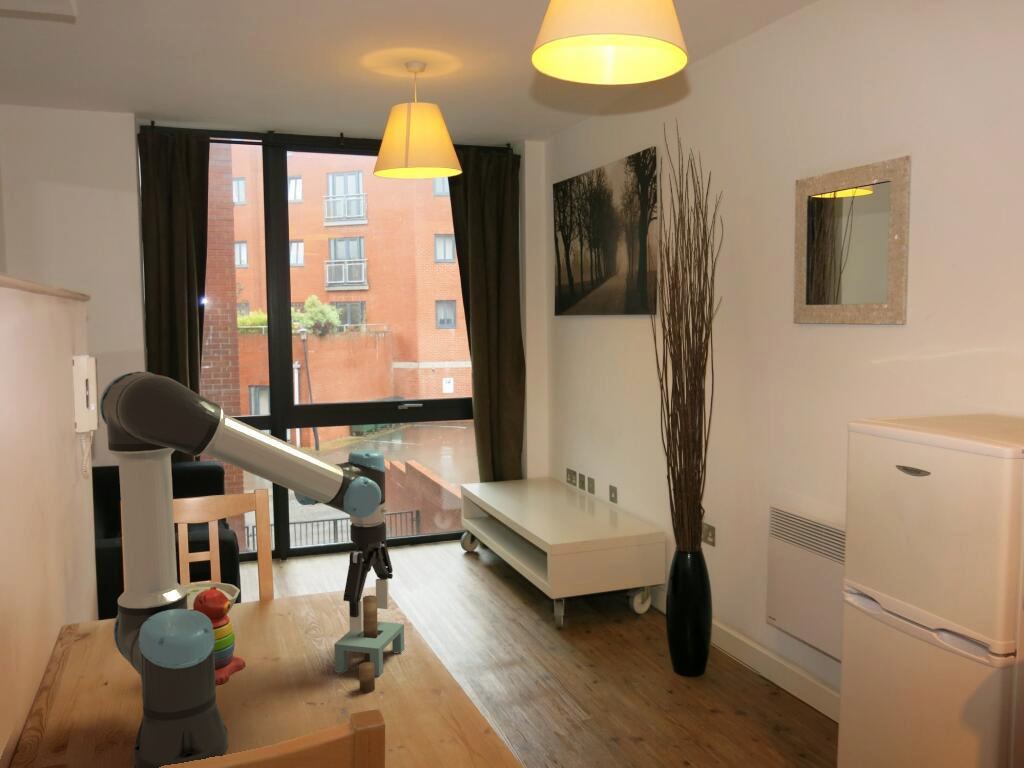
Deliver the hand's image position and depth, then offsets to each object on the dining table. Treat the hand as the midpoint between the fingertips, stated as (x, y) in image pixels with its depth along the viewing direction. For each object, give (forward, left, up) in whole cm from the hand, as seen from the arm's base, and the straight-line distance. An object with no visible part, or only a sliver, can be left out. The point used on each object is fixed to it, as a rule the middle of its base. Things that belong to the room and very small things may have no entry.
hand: (369, 619), depth 181 cm
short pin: (-13, -5, -9) cm, 17 cm away
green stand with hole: (0, 0, -9) cm, 9 cm away
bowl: (+5, +46, -9) cm, 47 cm away
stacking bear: (-14, +29, -10) cm, 34 cm away
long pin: (0, 0, -9) cm, 9 cm away
